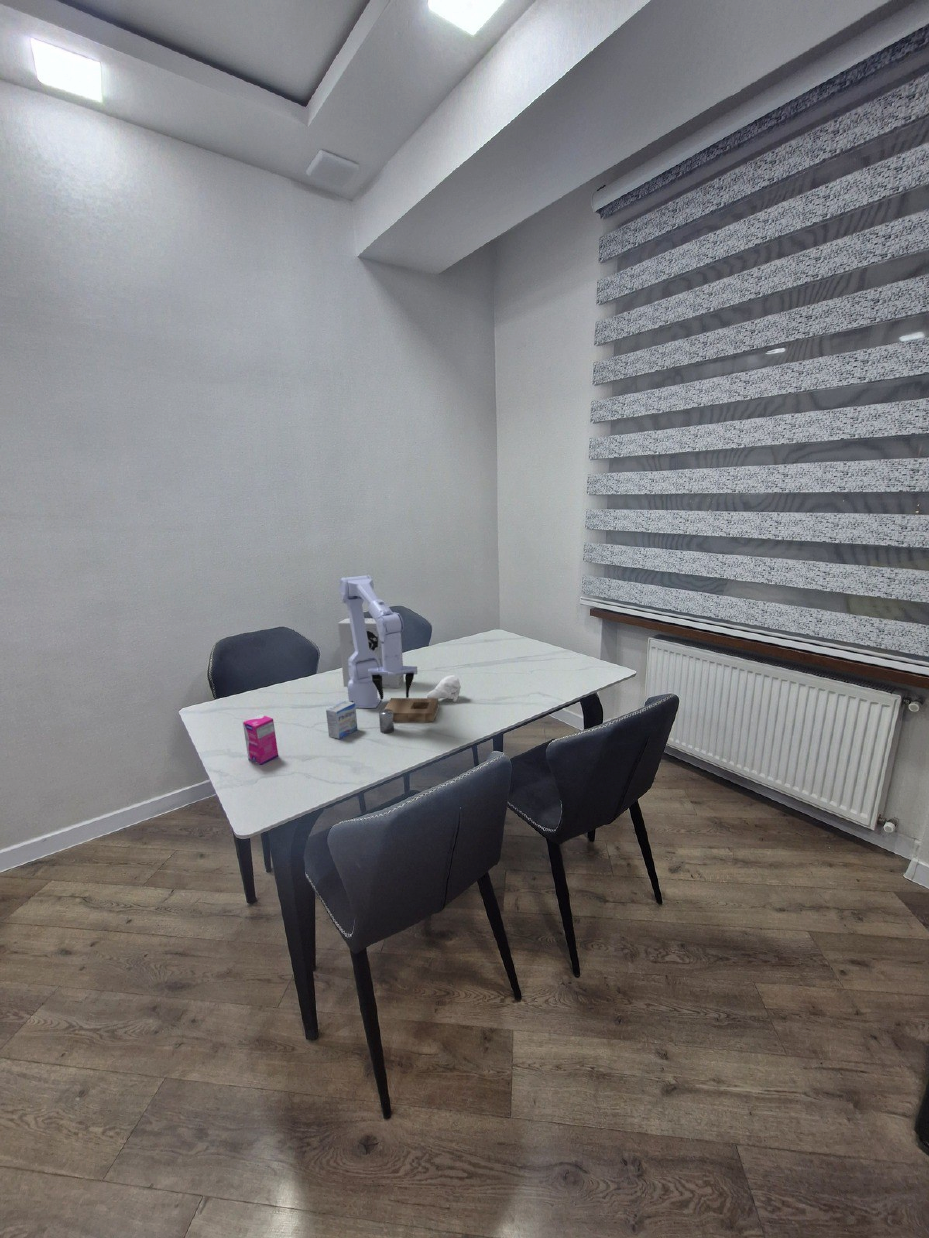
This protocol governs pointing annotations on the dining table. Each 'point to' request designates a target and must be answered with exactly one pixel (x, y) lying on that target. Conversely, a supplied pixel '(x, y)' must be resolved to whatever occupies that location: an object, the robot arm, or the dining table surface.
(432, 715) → the jig
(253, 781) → the dining table surface
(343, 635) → the cereal box
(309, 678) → the dining table surface
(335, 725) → the medicine box
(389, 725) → the grey dome knob
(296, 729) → the dining table surface
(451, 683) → the white lumpy piece
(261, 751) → the supplement box
